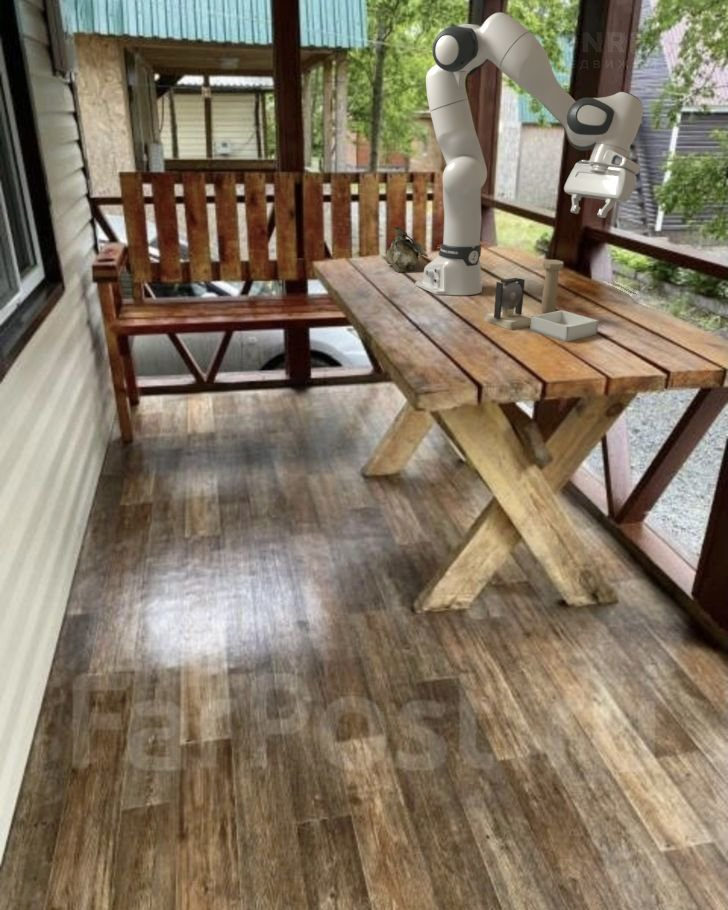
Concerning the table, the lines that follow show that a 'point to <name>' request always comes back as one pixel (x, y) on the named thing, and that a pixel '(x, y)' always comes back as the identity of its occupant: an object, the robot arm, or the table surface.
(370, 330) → the table surface
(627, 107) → the robot arm
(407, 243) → the hollow geode rock
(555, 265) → the handle
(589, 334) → the tray
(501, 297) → the pulley block
